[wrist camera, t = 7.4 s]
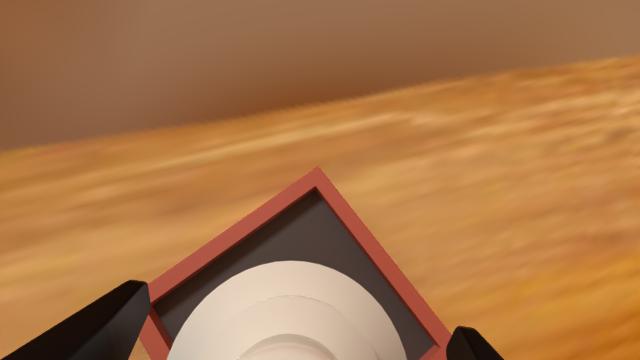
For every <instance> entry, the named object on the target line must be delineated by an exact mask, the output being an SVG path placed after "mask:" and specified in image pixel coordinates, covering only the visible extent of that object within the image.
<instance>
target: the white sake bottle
mask: <svg viewBox="0 0 640 360" xmlns="http://www.w3.org/2000/svg"><path fill="white" fill-rule="evenodd" d="M167 360H407V358H406V354H405V350H404V348H403V345H402V343H401V340H400V337H399V335H398V333H397V331H396V329H395V327H394V325H393V323H392V321H391V320H390V318H389V317H388V315H387V314H386V312H385V311H384V309H383V308H382V307H381V305H380V304H379V303H378V302H377V301H376V300H375V299H374V297H373V296H372V295H371V294H370V293H369V292H367V291H366V290H365V289H364V288H363V287H362V286H361V285H360V284H358V283H357V282H355V281H354V280H352V279H351V278H349V277H348V276H346V275H344V274H342V273H340V272H338V271H336V270H334V269H331V268H329V267H326V266H323V265H320V264H315V263H310V262H304V261H279V262H272V263H267V264H262V265H259V266H256V267H253V268H250V269H248V270H245V271H243V272H241V273H239V274H237V275H235V276H233V277H231V278H230V279H228V280H227V281H225V282H224V283H222V284H221V285H219V286H218V287H217V288H216V289H215V290H213V291H212V292H211V293H210V294H209V295H208V296H206V297H205V299H204V300H203V301H202V302H201V303H200V304H199V305H198V306H197V307H196V308H195V309H194V311H193V312H192V313H191V315H190V316H189V318H188V319H187V320H186V322H185V323H184V325H183V326H182V328H181V330H180V332H179V333H178V335H177V337H176V339H175V341H174V343H173V345H172V348H171V350H170V352H169V355H168V357H167Z"/></svg>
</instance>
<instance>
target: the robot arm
mask: <svg viewBox="0 0 640 360" xmlns="http://www.w3.org/2000/svg"><path fill="white" fill-rule="evenodd" d="M150 307H151V302H150V295H149V289H148V284H147V283H146V282H144V281H138V280H129V281H126V282H125V283H123V284H121V285H120V286H118V287H117V288H115V289H113V290H112V291H110V292H108V293H107V294H105V295H104V296H102V297H100V298H99V299H97V300H96V301H94V302H92V303H91V304H89V305H88V306H86V307H84V308H83V309H81V310H80V311H78V312H76V313H75V314H73V315H71V316H70V317H68V318H67V319H65V320H63V321H62V322H60V323H59V324H57V325H55V326H54V327H52V328H51V329H49V330H47V331H46V332H44V333H43V334H41V335H39V336H38V337H36V338H34V339H33V340H31V341H30V342H28V343H26V344H25V345H23V346H22V347H20V348H18V349H17V350H15V351H14V352H12V353H10V354H9V355H7V356H6V357H4V358H2V359H1V360H128V358H129V356H130V354H131V352H132V349H133V347H134V345H135V343H136V341H137V338H138V336H139V334H140V332H141V330H142V327H143V325H144V323H145V321H146V318H147V316H148V314H149V311H150ZM446 357H447V360H504V359H503V358H502V357H501V356H500V355H499V354H498V353H497V351H496V350H495V349H494V348H493V347H492V346H491V345H490V344H489V343H488V342H487V341H486V340H485V339H484V338H483V337H482V336H481V334H480V333H479V332H478V331H477V330H475V329H474V328H471V327H464V326H458V327H457V328H456V329H455V331H454V332H453V334H452V336H451V338H450V340H449V342H448V344H447V347H446Z"/></svg>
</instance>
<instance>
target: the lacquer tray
mask: <svg viewBox="0 0 640 360" xmlns="http://www.w3.org/2000/svg"><path fill="white" fill-rule="evenodd" d="M279 261H304V262H310V263H315V264H320V265H323V266H326V267H329V268H331V269H334V270H336V271H338V272H340V273H342V274H344V275H346V276H348V277H349V278H351V279H352V280H354V281H355V282H357V283H358V284H360V285H361V286H362V287H363V288H364V289H365V290H366V291H367V292H369V293H370V294H371V295H372V296H373V297H374V299H375V300H376V301H377V302H378V303H379V304H380V305H381V307H382V308H383V309H384V311H385V312H386V314H387V315H388V317H389V318H390V320H391V321H392V323H393V325H394V327H395V329H396V331H397V333H398V335H399V337H400V340H401V343H402V345H403V348H404V350H405V354H406V358H407V360H447V357H446V347H447V344H448V342H449V340H450V338H451V336H452V335H451V334H450V332H449V331H448V330H447V329H446V327H445V326H444V325H443V324H442V322H441V321H440V320H439V318H438V317H437V316H436V315H435V313H434V312H433V311H432V310H431V308H430V307H429V306H428V304H427V303H426V302H425V301H424V299H423V298H422V297H421V296H420V294H419V293H418V292H417V291H416V289H415V288H414V287H413V285H412V284H411V283H410V282H409V280H408V279H407V278H406V277H405V275H404V274H403V273H402V272H401V270H400V269H399V268H398V266H397V265H396V264H395V263H394V261H393V260H392V259H391V258H390V256H389V255H388V254H387V253H386V251H385V250H384V249H383V247H382V246H381V245H380V244H379V242H378V241H377V240H376V239H375V237H374V236H373V235H372V233H371V232H370V231H369V230H368V228H367V227H366V226H365V225H364V223H363V222H362V221H361V220H360V218H359V217H358V216H357V214H356V213H355V212H354V211H353V209H352V208H351V207H350V206H349V204H348V203H347V202H346V201H345V199H344V198H343V197H342V195H341V194H340V193H339V192H338V190H337V189H336V188H335V187H334V185H333V184H332V183H331V182H330V180H329V179H328V178H327V176H326V175H325V174H324V173H323V171H322V170H321V169H320V168H319V166H318V167H316V168H315V169H314V170H312V171H311V172H309V173H308V174H306V175H305V176H303V177H302V178H301V179H299V180H298V181H296V182H295V183H293V184H292V185H291V186H289V187H288V188H286V189H285V190H283V191H282V192H280V193H279V194H278V195H276V196H275V197H273V198H272V199H270V200H269V201H268V202H266V203H265V204H263V205H262V206H260V207H259V208H257V209H256V210H255V211H253V212H252V213H250V214H249V215H247V216H246V217H244V218H243V219H242V220H240V221H239V222H237V223H236V224H234V225H233V226H232V227H230V228H229V229H227V230H226V231H224V232H223V233H221V234H220V235H219V236H217V237H216V238H214V239H213V240H211V241H210V242H209V243H207V244H206V245H204V246H203V247H201V248H200V249H198V250H197V251H196V252H194V253H193V254H191V255H190V256H188V257H187V258H185V259H184V260H183V261H181V262H180V263H178V264H177V265H175V266H174V267H173V268H171V269H170V270H168V271H167V272H165V273H164V274H162V275H161V276H160V277H158V278H157V279H155V280H154V281H152V282H151V283H149V284H148V289H149V295H150V302H151V307H150V311H149V314H148V316H147V318H146V321H145V323H144V325H143V327H142V330H141V332H140V334H139V336H138V337H139V338H140V340H141V342H142V344H143V345H144V347H145V349H146V351H147V353H148V354H149V356H150V358H151V360H167V357H168V355H169V352H170V350H171V348H172V345H173V343H174V341H175V339H176V337H177V335H178V333H179V332H180V330H181V328H182V326H183V325H184V323H185V322H186V320H187V319H188V318H189V316H190V315H191V313H192V312H193V311H194V309H195V308H196V307H197V306H198V305H199V304H200V303H201V302H202V301H203V300H204V299H205V297H206V296H208V295H209V294H210V293H211V292H212V291H213V290H215V289H216V288H217V287H218V286H219V285H221V284H222V283H224V282H225V281H227V280H228V279H230V278H231V277H233V276H235V275H237V274H239V273H241V272H243V271H245V270H248V269H250V268H253V267H256V266H259V265H262V264H267V263H272V262H279Z"/></svg>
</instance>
